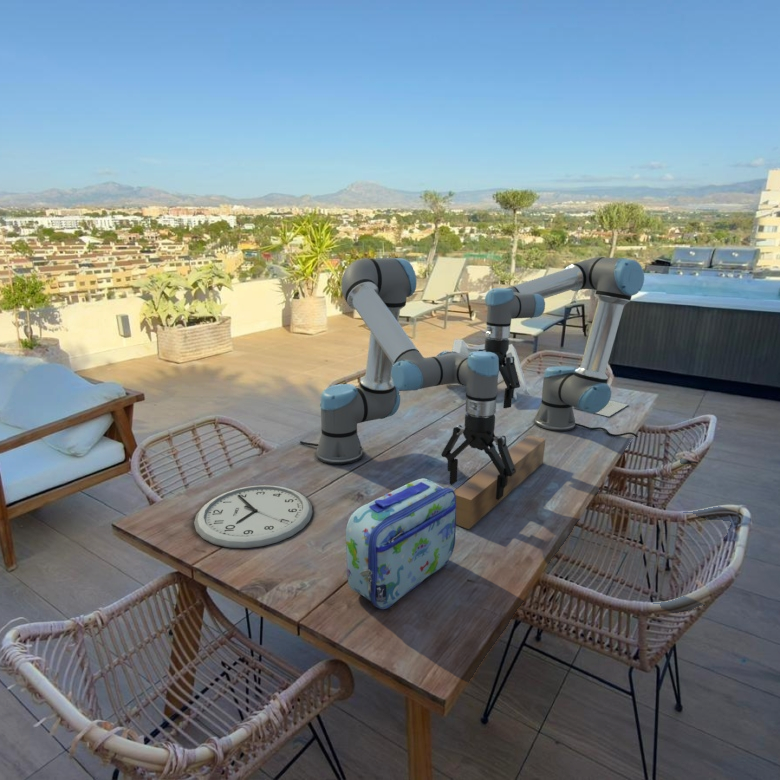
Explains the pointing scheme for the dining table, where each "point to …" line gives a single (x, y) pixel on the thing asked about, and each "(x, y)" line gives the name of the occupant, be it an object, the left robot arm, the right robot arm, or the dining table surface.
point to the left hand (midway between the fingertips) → (475, 490)
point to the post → (481, 488)
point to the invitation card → (611, 408)
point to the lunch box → (400, 540)
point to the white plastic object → (465, 350)
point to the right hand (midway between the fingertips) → (491, 401)
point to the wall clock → (253, 516)
